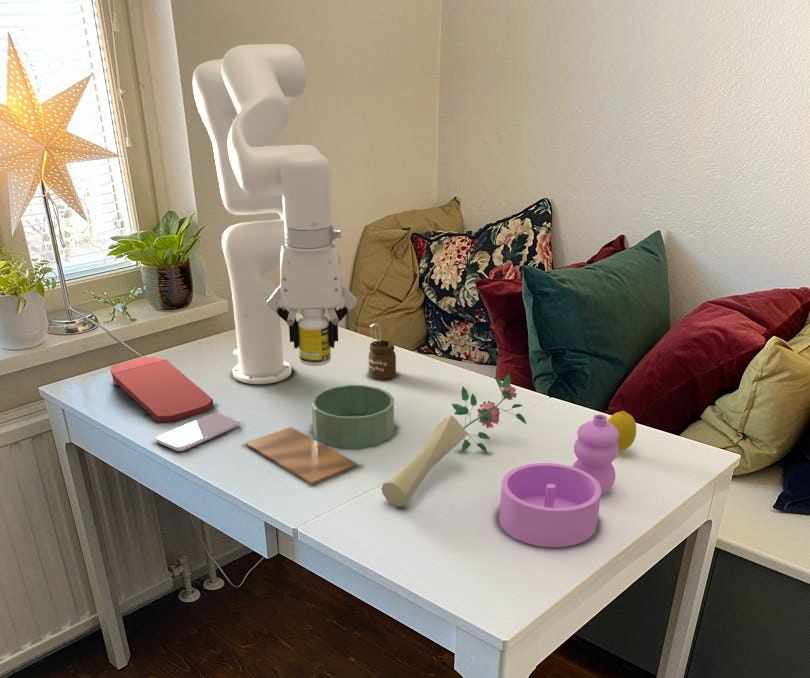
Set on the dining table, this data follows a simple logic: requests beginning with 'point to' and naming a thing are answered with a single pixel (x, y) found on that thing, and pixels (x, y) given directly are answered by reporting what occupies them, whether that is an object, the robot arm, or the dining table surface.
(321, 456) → the wooden board
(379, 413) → the bowl
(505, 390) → the flower vase
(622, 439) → the lemon
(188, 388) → the red wedge block
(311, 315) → the supplement bottle
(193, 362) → the dining table surface
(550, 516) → the container set
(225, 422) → the mobile phone
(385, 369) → the utensil holder
